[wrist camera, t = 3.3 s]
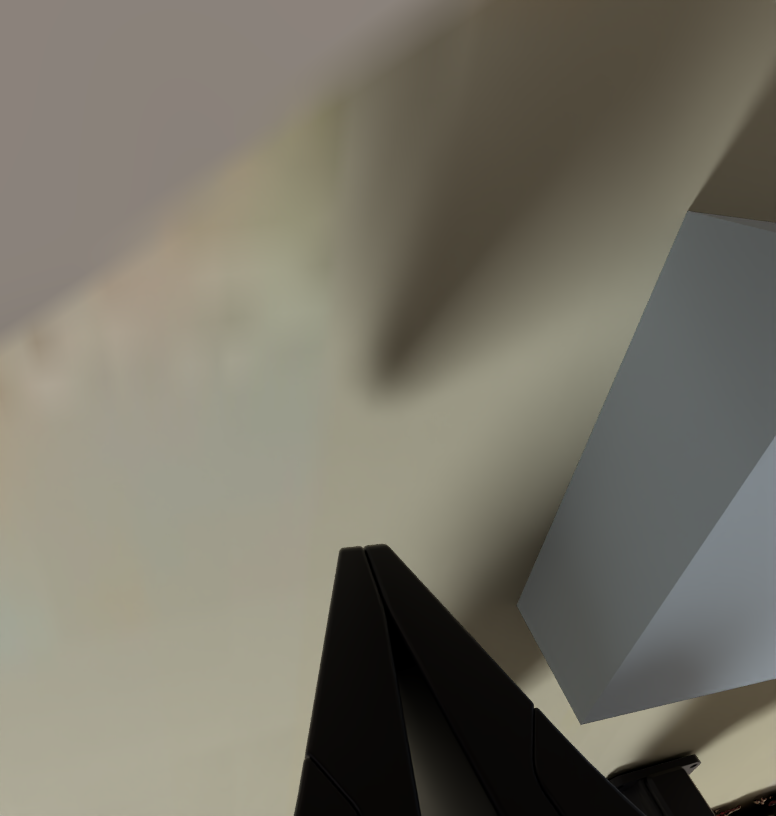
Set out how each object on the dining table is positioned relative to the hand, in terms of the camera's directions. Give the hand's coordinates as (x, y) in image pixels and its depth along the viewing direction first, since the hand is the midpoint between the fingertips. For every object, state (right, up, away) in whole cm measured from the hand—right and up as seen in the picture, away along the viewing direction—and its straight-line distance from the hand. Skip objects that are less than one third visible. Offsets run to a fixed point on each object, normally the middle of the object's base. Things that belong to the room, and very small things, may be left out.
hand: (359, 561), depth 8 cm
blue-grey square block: (+11, +2, +6) cm, 13 cm away
